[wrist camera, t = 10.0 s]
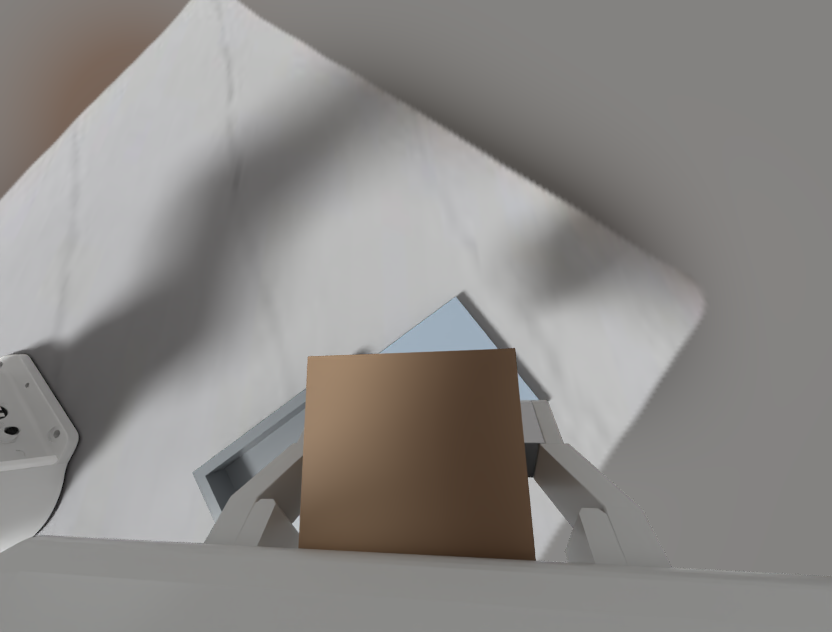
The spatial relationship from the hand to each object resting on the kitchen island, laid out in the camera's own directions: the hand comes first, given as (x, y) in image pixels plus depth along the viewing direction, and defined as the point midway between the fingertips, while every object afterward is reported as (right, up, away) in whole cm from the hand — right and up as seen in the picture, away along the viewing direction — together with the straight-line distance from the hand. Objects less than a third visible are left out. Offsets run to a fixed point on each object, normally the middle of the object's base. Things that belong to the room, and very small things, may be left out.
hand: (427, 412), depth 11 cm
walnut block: (+1, -2, +6) cm, 6 cm away
